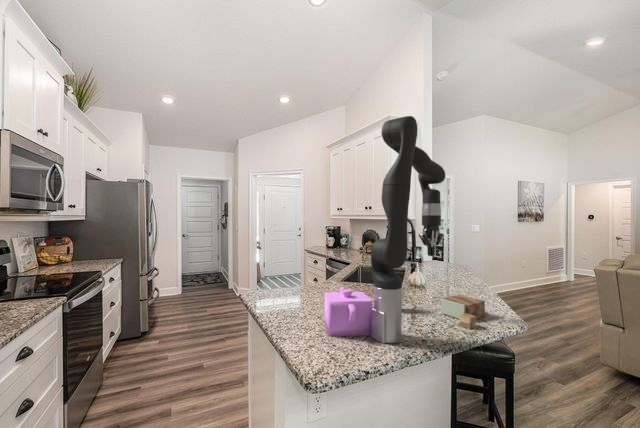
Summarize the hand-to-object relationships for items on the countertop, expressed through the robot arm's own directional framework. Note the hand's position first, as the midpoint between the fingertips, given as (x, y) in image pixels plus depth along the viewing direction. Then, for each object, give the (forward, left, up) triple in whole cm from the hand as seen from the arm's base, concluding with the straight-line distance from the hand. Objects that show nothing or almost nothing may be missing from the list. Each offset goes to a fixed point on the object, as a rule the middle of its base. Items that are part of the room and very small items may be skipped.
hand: (431, 255), depth 120 cm
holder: (+14, -6, -25) cm, 29 cm away
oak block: (+2, -15, -25) cm, 29 cm away
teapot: (-39, +7, -25) cm, 47 cm away
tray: (+12, -6, -25) cm, 28 cm away
